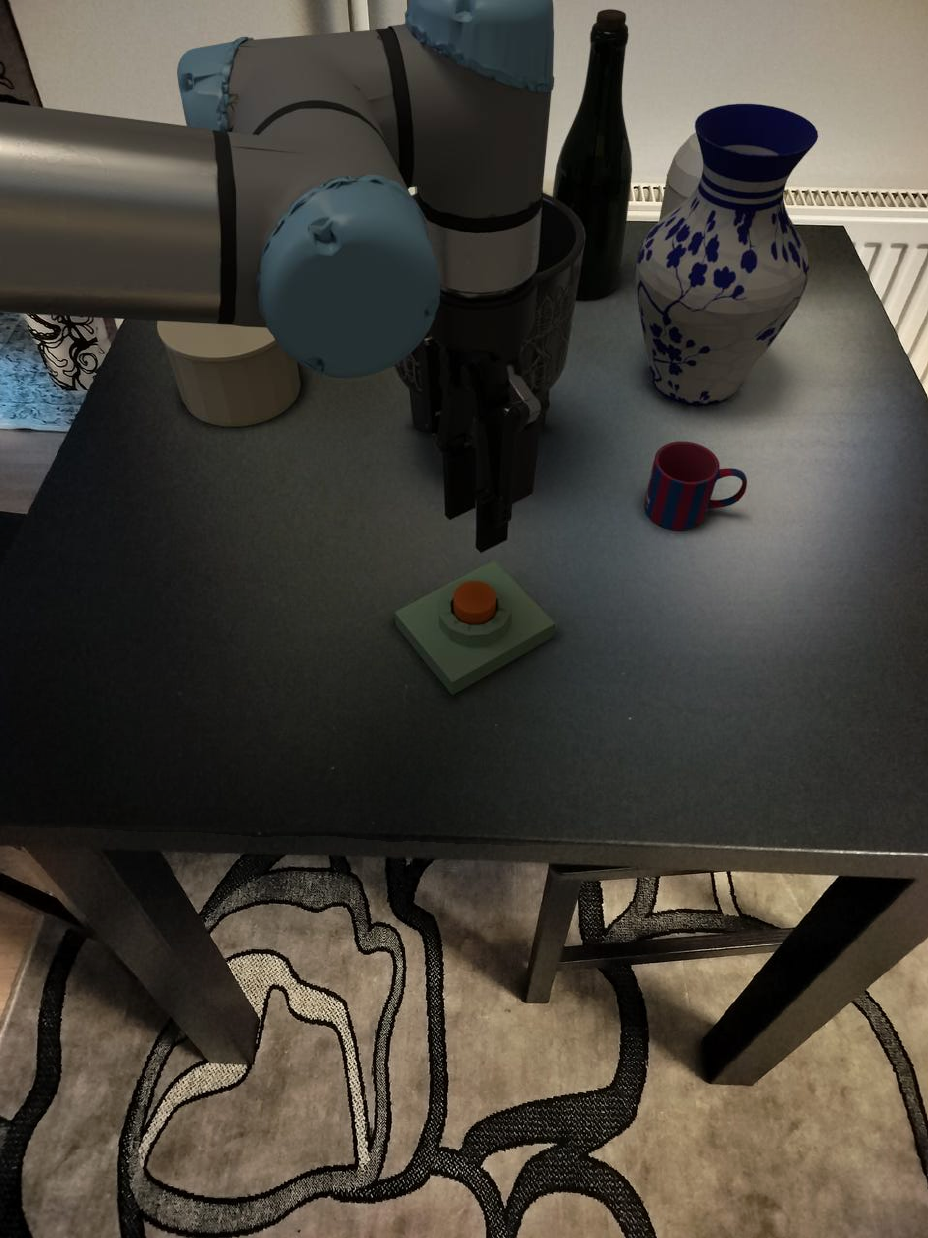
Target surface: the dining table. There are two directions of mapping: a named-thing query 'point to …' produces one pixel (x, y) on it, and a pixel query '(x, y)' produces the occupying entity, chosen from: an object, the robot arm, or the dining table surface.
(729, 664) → the dining table surface
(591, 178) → the wine bottle
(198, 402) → the canister
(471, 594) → the button
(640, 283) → the vase
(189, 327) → the lid
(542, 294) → the planter
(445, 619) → the block
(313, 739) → the dining table surface
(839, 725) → the dining table surface
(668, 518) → the cup
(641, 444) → the dining table surface
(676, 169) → the container
